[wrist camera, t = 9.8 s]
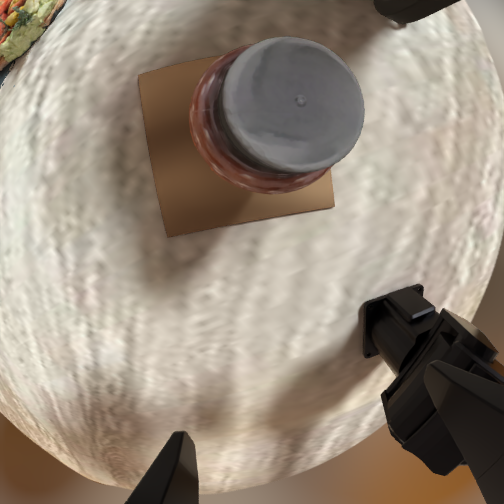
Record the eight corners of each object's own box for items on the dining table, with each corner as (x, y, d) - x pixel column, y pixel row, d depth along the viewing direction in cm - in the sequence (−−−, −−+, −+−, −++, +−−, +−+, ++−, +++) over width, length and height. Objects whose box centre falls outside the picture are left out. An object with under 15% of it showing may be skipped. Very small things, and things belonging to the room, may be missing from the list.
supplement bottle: (292, 170, 18) (401, 200, 7) (204, 185, 17) (204, 236, 7) (279, 86, 16) (373, 19, 5) (189, 98, 15) (168, 18, 5)
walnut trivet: (328, 204, 20) (334, 206, 19) (170, 233, 20) (167, 237, 18) (302, 54, 16) (307, 48, 15) (142, 79, 16) (138, 74, 15)
